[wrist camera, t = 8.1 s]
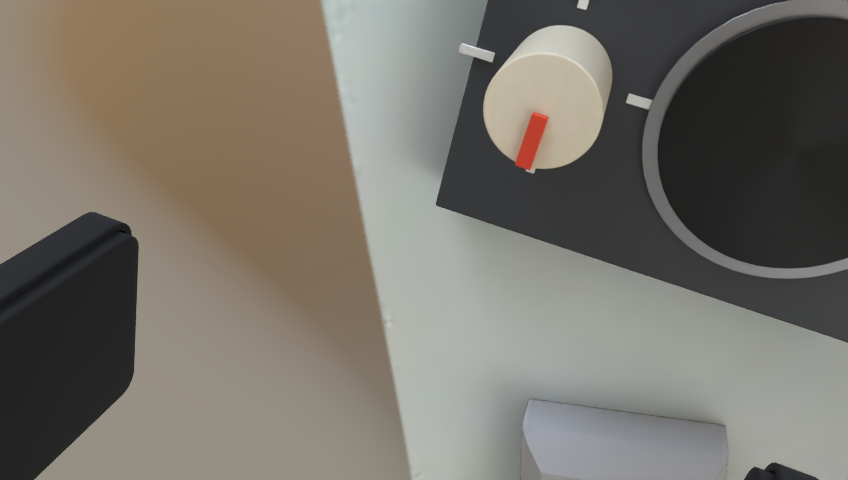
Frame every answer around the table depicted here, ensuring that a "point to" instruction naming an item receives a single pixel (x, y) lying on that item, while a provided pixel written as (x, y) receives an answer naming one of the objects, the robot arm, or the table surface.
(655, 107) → the burner
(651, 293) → the table surface
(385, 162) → the table surface
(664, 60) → the hob
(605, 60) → the knob
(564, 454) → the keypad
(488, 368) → the table surface
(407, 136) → the table surface
